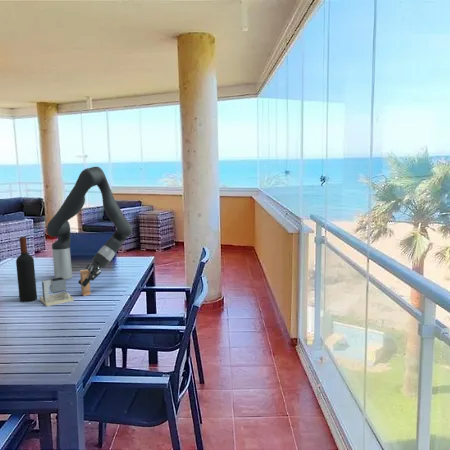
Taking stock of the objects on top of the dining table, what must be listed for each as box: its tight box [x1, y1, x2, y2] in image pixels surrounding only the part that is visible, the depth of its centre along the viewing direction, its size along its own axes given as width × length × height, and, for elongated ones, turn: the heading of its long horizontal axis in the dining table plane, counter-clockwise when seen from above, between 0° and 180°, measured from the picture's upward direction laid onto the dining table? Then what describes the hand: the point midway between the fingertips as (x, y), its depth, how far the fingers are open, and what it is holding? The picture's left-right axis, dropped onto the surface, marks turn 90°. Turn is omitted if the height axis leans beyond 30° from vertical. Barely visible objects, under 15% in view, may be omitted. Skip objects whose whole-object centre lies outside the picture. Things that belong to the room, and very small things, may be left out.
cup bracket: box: [39, 277, 74, 307], centre depth 200 cm, size 12×12×10 cm
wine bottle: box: [15, 236, 38, 303], centre depth 201 cm, size 8×8×30 cm
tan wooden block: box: [79, 269, 91, 297], centre depth 208 cm, size 3×3×12 cm
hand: (81, 284), depth 207 cm, fingers open, 4 cm apart
